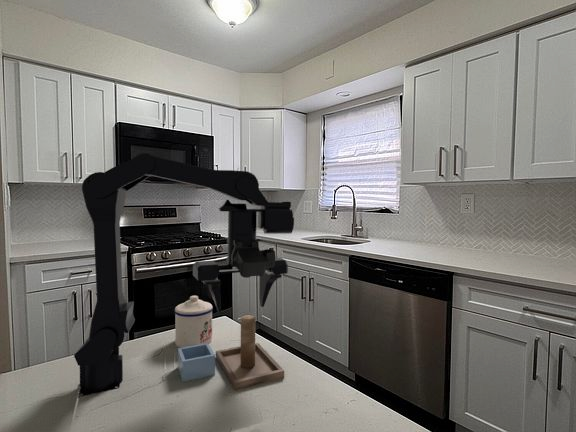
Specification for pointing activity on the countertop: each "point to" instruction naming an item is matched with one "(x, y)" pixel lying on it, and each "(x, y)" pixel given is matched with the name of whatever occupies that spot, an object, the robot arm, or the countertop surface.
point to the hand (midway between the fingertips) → (241, 309)
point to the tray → (244, 378)
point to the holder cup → (196, 362)
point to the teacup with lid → (193, 323)
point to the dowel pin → (247, 341)
